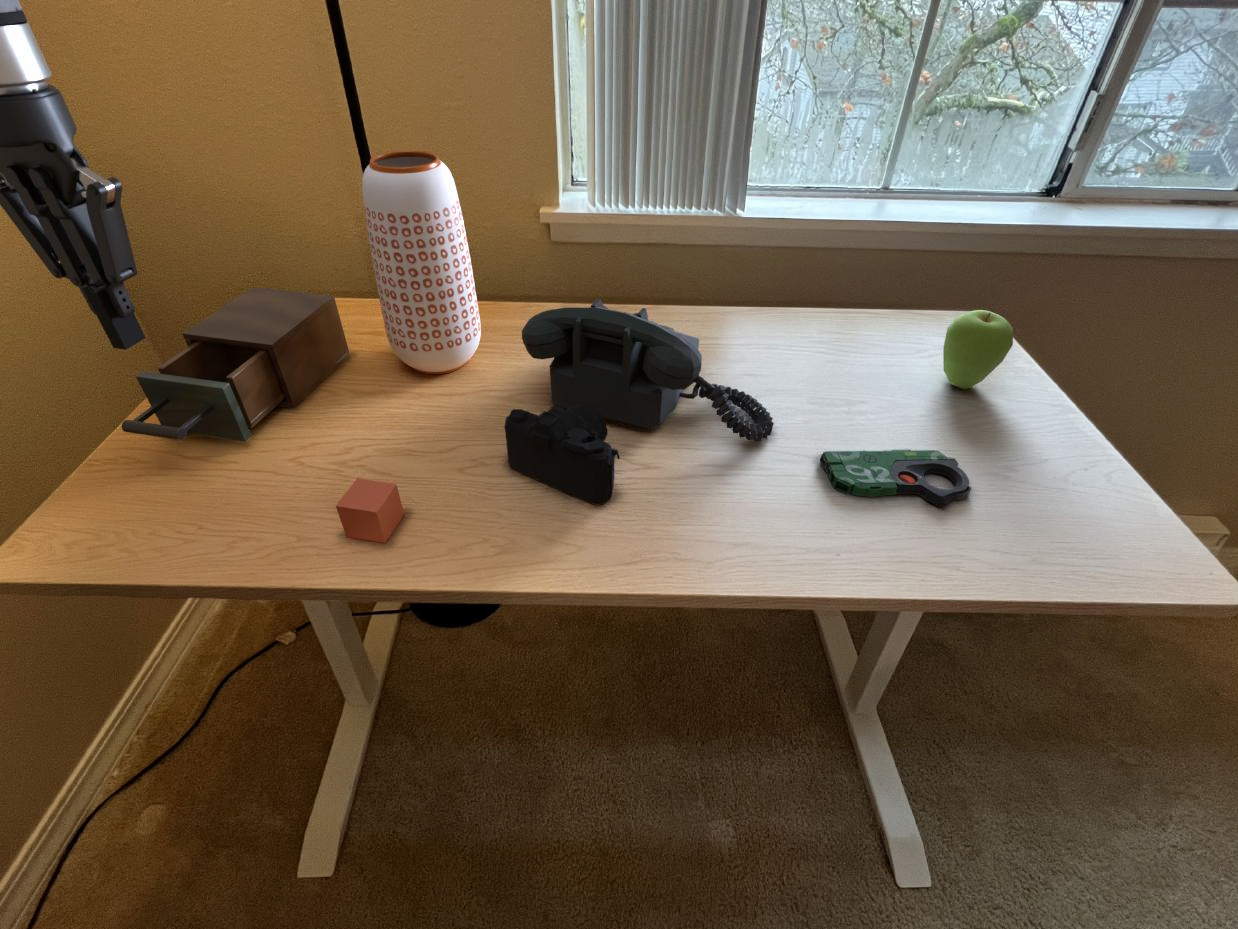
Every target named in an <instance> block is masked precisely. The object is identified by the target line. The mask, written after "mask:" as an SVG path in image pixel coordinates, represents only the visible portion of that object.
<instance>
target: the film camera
mask: <svg viewBox="0 0 1238 929" xmlns="http://www.w3.org/2000/svg"><path fill="white" fill-rule="evenodd" d="M503 430H504V433H505V443H506V451H507V463H508V465H509V467H510V468H511V469H513V470H515V471H516V472H519V473H521V474H523V475H525V476H527V477H529V478H532V479H534V480H536V481H538V482H541V483H542V484H545V485H547V486H549V487H551V488H553V489H556V490H558V491H561V492H562V493H565V494H567V495H569V496H571V497H574V498H576V499H580V500H581V501H584V502H587V503H590V504H592V505H603V504H606V503H607V502H609V501H610V500H611V499H612V497H613V490H614V485H615V467H616V466H615V464H616V458H617V459H618V460H620V459H621V458H620V454H619V450H618V449H616V448H612V445H611V444H610V443H608V442H605V441H606V440H607V437H608V425H607V421H605V420H604V419H603V417H602V415H601V414H600V413H599V412H598V411H597V410H596V409H595V408H593V407H591V406H589V405H586V404H576V405H575V406H573V407H570V408H568V409H567V410H564V409H562V408H561V407H559V406H557V405H553V406H551V407H550V408H549V409H548V410H547V411H546V410H544V411H543V412H541V413H540V414H539V415H538V414H535V413H532V412H530V411H528V410H524V409H522V408H514V409H512V410H511V411H510V413H509V415H507V416H506V417H505V420H504V426H503Z"/></svg>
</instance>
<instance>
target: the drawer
mask: <svg viewBox="0 0 1238 929" xmlns="http://www.w3.org/2000/svg"><path fill="white" fill-rule="evenodd" d="M157 370H158V372H159V373H157V372H150V371H143V370H142V371H141V372H139V373H138V374H137V375H136V376H135V378H136V380H137V382H138V384H139V386H140V388H141V390H142V391H143V393H144V395H145V397H146V399H147V401H148V403H149V405H150V406H149V408H147V409H146V410H145V411H143V412H141V413H140V414H139V415H138V416H136V417H135V418H134V419H125V420H123V421H122V422H121V425H120V426H121V427H120V428H121V430H122V431H123V432H125V433H129V434H136V435H143V436H148V437H149V436H150V437H155V438H163V439H168V440H169V439H170V440H177V441H184V440H185V439H186V438H187V435H188V434H189V435H194V436H195V435H196V436H202V437H208V438H209V437H210V438H215V439H222V440H227V441H228V440H229V441H236V442H241V443H242V442H243V443H246V442H248V441H249V440H250V439H251V438H252V434H251V431H250V429H249V428H254V427H255V426H257V424H258V423H259V422H260V421H262V419H264V418H265V417H266V416H267V415H268V414H269V413H270V412H271V411H273V409H274V408H276V407H278V406H277V405H278V404H279V403H280V402H281V401H282V400H283V399H284V398H285V394H284V392H283V389H282V386H281V383H280V381H279V378H278V375H277V372H276V370H275V367H274V364H273V361H272V359H271V356H270V353H269V350H267V349H259V348H252V347H244V346H236V345H228V344H220V343H212V342H205V341H196V342H195V343H193V344H192V345H190V346H189V347H188V346H187V347H186V348H184V349H183V350H182V351H180V352H178V353H177V354H176V355H174V356H173V357H171V358H170V359H168V360H167V361H165V362H164V363H162V364H161V365H159V366H158V367H157ZM153 415H155V416H156V419H157V420H158V422H159V424H158V423H152V422H146V421H147V420H148V419H149V418H151V417H152V416H153Z"/></svg>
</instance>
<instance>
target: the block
mask: <svg viewBox="0 0 1238 929" xmlns="http://www.w3.org/2000/svg"><path fill="white" fill-rule="evenodd" d="M402 504H403V503H402V500H401V497H400V491H399V488H398V484H397V483H393V482H386V481H379V480H373V479H366V478H359V477H356V479H355V481H353V483H352V484H351V486H350V487H349V488H348V489H347V491H346V492H345V493H344V495H343V496H342V497H341V498H340V499H339V500H338V502H337V503H336V504H335V509H336V512H337V514H338V518H339V520H340V524H341V526H342V529H343V532H344V535H345V537H346V538H352V539H357V540H364V541H369V542H375V543H382V544H386V543H387V542H388V540H389V539H390V537H391V535H392V534H393V533H394V531H395V530H396V528H397V526H398V525H399V524H400V522H401V521H402V519H403V518H404V516H405V512H404V508H403V505H402Z"/></svg>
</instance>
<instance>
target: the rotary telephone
mask: <svg viewBox="0 0 1238 929" xmlns="http://www.w3.org/2000/svg"><path fill="white" fill-rule="evenodd" d="M523 326H524V327H523V328H522V329H521V340H522V343H523V345H524V347H525V349H526V352H527V354H528V355H529V356H530V357H531V358H532V359H536V360H547V359H552V361H551V363H550V365H549V381H550V382H549V384H550V385H549V386H550V399H551V400H550V401H551V403H552V404H554V405H555V406H556V407H559V408H562V409H564V410H567V409H568V408H570V407H573V406H575V405H576V404H586V405H589V406H591V407H593V408H595V409H596V410H597V411H598V412H599V413H600V414H601V415H602V417H603V419H604V420H605V422H609V423H613V424H617V425H621V426H626V427H630V428H634V429H637V430H641V431H643V430H648V431H649V430H652V429H655V428H657V427H658V426H660V425H661V424H663V422H664V421H665V420H666V419H667V418H668V417H669V416H670V415H671V414H672V412H674V411H675V409H676V408H677V405H678V403H679V401H680V400H681V398H684V399H690V400H694V399H695V398H697V397H699V398H701V399H705V398H706V399H707V400H709V401H711V402H712V404H711V407H712V408H713V409H715V410H716V412H715V415H716V416H718V417H720V422H721V423H723V424H726V428H727V429H731V431H732V434H738V436H739V438H740V439H743V438H745V439H746V441H748V442H749V441H754V442H762V440H768V436H771V435H772V431H773V427H774V425H775V422H773V419H774V418H773V417H772V416H770V415H771V412H769V411H768V410H767V408H766V407H764V406H763V403H760V402H759V401H758V399H756V398H754V397H753V396H752V395H751V394H749V393H748V394H746V392H745V391H739V389H738V388H732V387H731V386H725V385H723V384H717V383H711V382H708V380H706V379H704V377H702V376H701V375H700V373H701V369H702V362H703V361H702V360H703V358H702V357H703V355H702V354H701V352H700V350H699V345H700V339H699V338H698V337H695V336H692V335H689V334H686V333H682V332H679V331H676V330H675V329H674V327H670V326H666V325H662V324H658V322H655V321H652V320H649V315H648V311H647V308H645V307H642V308H640V310H639V312H635V313H630V312H626V311H621V310H617V309H616V310H615V309H611V308H609V307H606V306H605V305H604V303H603V301H602V300H601V299H598V298H596V300H594V302H592V304H591V305H590V306H589V307H561V308H553V309H547V310H544V311H541V312H539V313H537V314H535V315H533V316H532V317H530V318H529V319H528V320H527V321H526V323H525V325H523ZM694 383H695V384H694ZM693 384H694V386H693V388H692V392H691V393H688V392H684V390H686V389H688V387H690V386H691V385H693ZM736 407H738V408H739V409H740V410H741V411H743V412H744V413H745V414H747V415H748V417H750V418H751V421H753V422H750V419H746V418H745V415H740V411H737V410H736Z"/></svg>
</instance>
